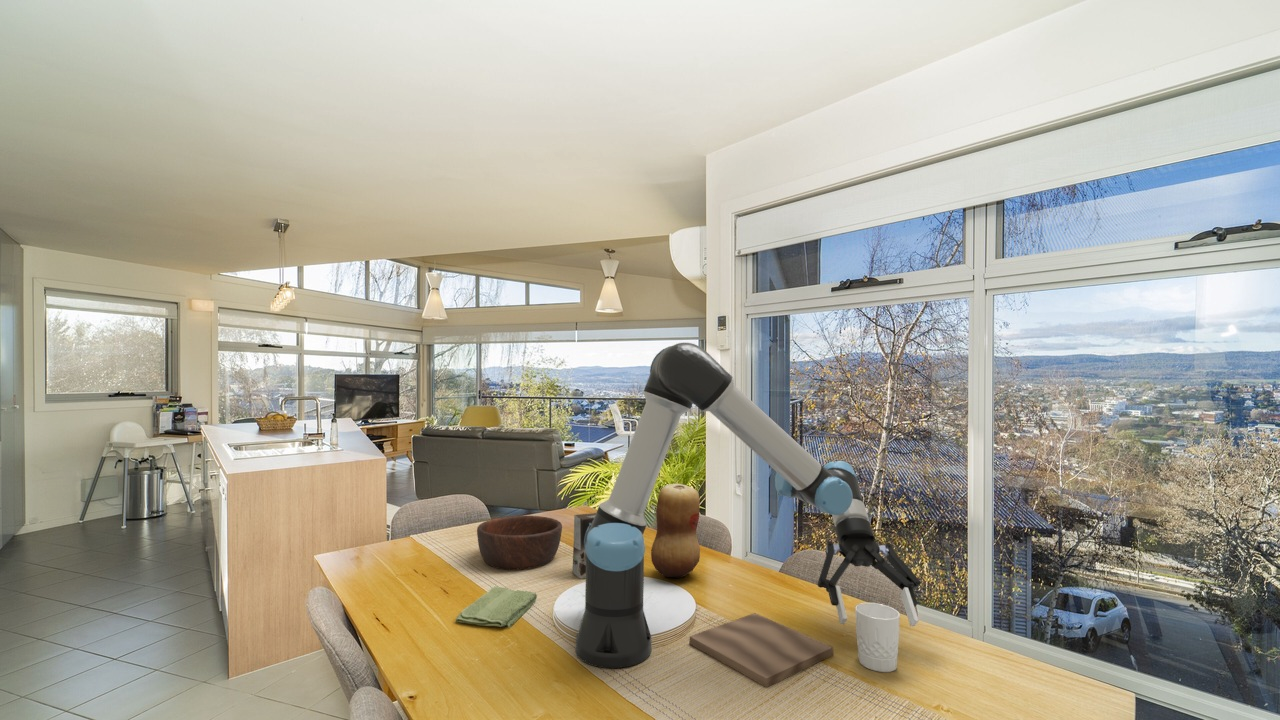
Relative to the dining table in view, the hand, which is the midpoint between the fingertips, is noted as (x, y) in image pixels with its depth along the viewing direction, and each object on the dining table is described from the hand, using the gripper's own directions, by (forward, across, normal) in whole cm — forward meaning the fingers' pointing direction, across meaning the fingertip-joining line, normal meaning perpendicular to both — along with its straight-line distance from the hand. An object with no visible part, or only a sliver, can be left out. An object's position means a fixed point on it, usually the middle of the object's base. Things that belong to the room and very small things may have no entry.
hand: (879, 622), depth 107 cm
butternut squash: (-26, +39, -36) cm, 59 cm away
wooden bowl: (-34, +85, -44) cm, 101 cm away
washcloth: (-7, +80, -17) cm, 82 cm away
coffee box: (-26, +62, -36) cm, 76 cm away
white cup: (+6, +1, -4) cm, 8 cm away
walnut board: (+3, +23, -7) cm, 24 cm away
